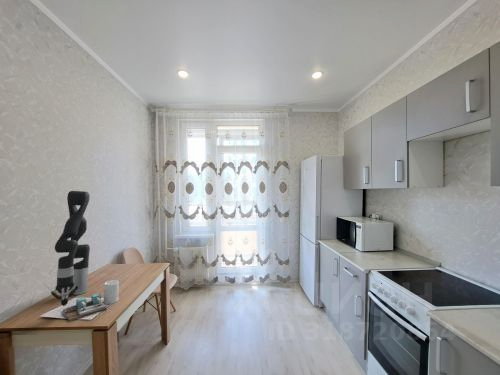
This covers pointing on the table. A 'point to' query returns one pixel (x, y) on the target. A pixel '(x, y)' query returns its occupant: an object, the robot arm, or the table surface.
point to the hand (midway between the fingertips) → (64, 305)
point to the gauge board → (74, 313)
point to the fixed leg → (96, 299)
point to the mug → (111, 292)
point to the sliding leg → (81, 303)
